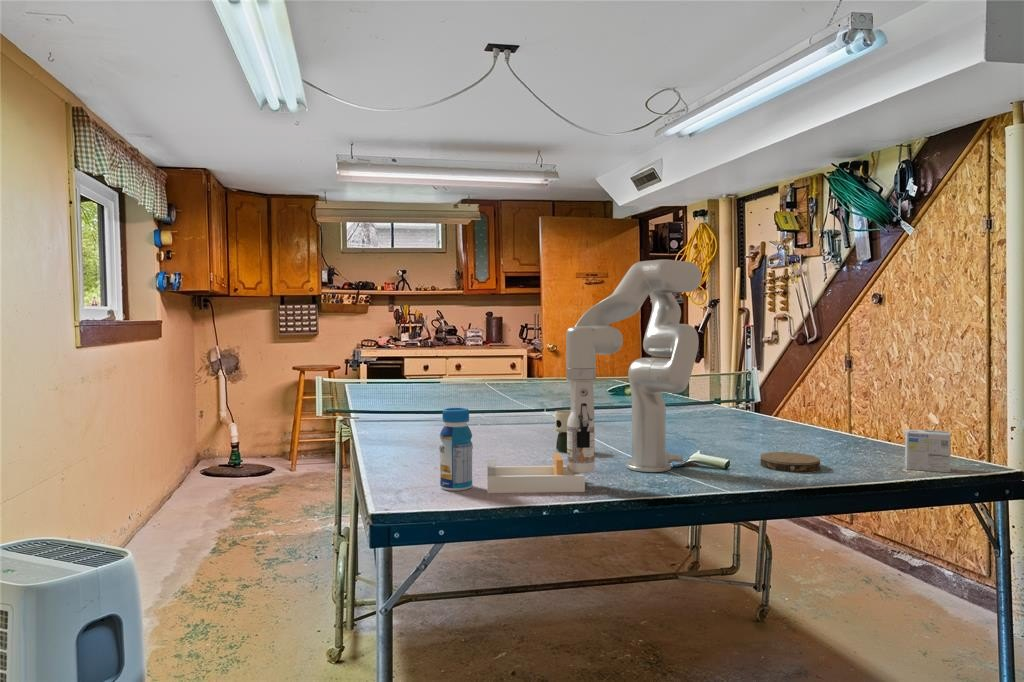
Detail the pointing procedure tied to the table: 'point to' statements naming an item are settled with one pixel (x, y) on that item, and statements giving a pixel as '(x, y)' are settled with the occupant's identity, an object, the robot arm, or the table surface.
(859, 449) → the table surface
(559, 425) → the character mug
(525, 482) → the pusher lane
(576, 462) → the bath foam
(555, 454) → the orange rectangular block
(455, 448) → the beverage bottle
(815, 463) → the brown round disc
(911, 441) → the light bulb box
